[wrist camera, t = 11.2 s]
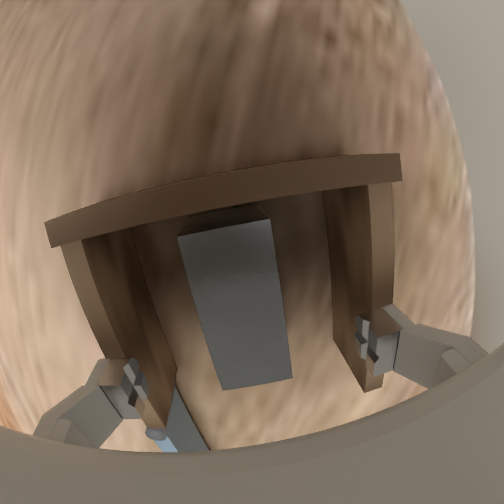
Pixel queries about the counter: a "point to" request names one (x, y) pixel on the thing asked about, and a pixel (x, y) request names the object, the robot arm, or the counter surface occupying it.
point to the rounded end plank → (178, 430)
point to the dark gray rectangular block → (238, 295)
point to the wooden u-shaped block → (217, 196)
